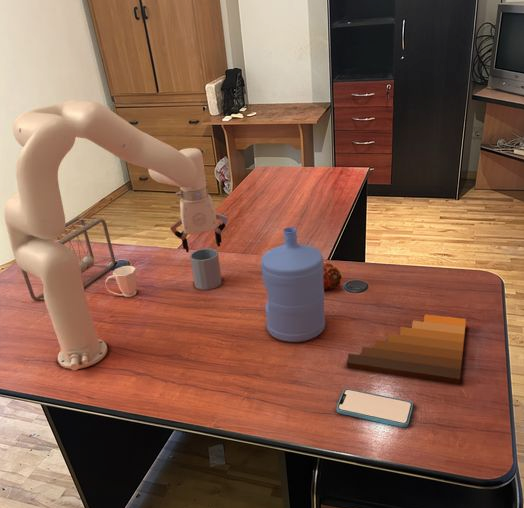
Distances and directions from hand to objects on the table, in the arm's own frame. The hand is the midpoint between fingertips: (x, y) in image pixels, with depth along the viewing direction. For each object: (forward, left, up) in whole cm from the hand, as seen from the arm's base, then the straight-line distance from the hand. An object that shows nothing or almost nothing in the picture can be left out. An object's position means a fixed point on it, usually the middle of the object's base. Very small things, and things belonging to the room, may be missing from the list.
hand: (202, 247), depth 166 cm
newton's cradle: (+18, +41, -12) cm, 47 cm away
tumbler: (0, 0, -12) cm, 12 cm away
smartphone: (-72, -24, -12) cm, 77 cm away
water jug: (-35, -18, -12) cm, 41 cm away
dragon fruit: (-17, -32, -12) cm, 38 cm away
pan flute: (-54, -41, -12) cm, 69 cm away
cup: (+3, +26, -12) cm, 29 cm away
